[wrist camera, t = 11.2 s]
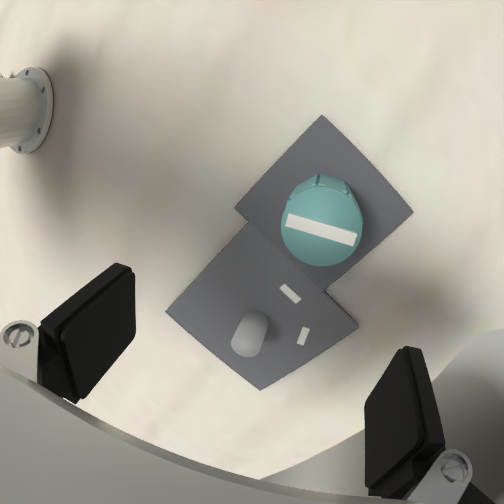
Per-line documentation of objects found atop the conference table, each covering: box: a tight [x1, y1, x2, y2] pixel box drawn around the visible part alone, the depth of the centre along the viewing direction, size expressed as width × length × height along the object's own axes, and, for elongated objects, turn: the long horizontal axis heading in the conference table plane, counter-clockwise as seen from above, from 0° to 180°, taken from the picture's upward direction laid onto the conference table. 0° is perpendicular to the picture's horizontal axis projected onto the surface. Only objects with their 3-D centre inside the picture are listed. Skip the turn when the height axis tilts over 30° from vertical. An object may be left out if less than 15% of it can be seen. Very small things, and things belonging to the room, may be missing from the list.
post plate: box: [165, 223, 359, 391], centre depth 33 cm, size 16×16×5 cm
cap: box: [281, 174, 363, 266], centre depth 25 cm, size 6×6×6 cm
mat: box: [234, 115, 413, 291], centre depth 28 cm, size 12×12×1 cm
